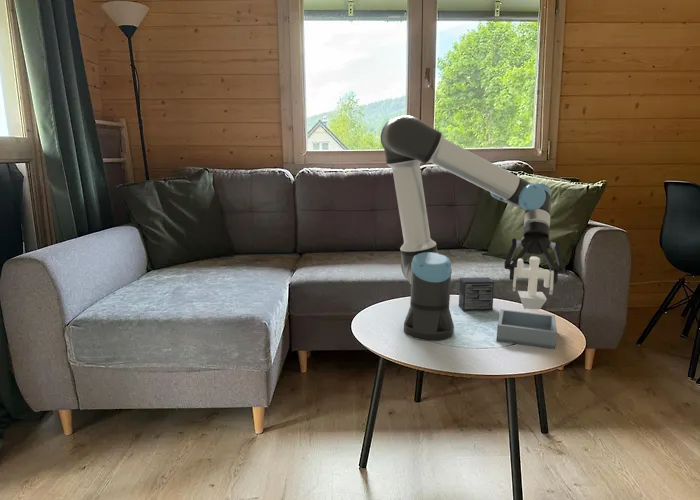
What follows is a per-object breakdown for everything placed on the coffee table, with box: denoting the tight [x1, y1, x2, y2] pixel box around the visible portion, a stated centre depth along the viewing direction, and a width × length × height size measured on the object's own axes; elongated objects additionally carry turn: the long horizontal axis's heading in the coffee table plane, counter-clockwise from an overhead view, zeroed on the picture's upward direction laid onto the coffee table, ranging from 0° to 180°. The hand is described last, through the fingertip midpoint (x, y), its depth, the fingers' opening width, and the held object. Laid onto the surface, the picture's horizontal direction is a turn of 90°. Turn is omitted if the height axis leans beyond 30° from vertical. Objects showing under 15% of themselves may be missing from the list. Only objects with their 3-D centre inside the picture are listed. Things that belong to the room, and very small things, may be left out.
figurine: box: [517, 255, 551, 310], centre depth 147 cm, size 7×9×15 cm
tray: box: [495, 309, 558, 350], centre depth 150 cm, size 16×15×5 cm
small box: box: [458, 276, 495, 312], centre depth 174 cm, size 11×6×10 cm, turn 94°
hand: (532, 290), depth 144 cm, fingers closed on figurine, 9 cm apart
